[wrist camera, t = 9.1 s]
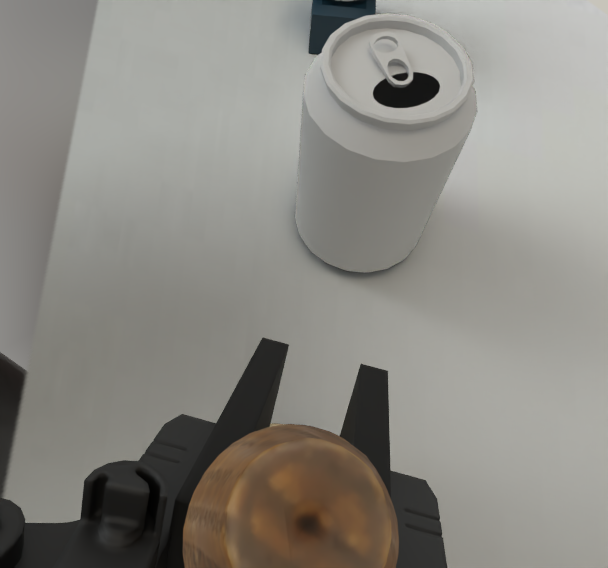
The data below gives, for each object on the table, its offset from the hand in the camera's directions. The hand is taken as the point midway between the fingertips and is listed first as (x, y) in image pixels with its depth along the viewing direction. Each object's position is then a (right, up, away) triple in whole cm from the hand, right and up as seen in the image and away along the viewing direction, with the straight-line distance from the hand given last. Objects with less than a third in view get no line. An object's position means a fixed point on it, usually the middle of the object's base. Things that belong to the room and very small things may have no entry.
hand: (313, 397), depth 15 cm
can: (+3, +7, +17) cm, 19 cm away
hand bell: (-1, -6, +4) cm, 7 cm away
